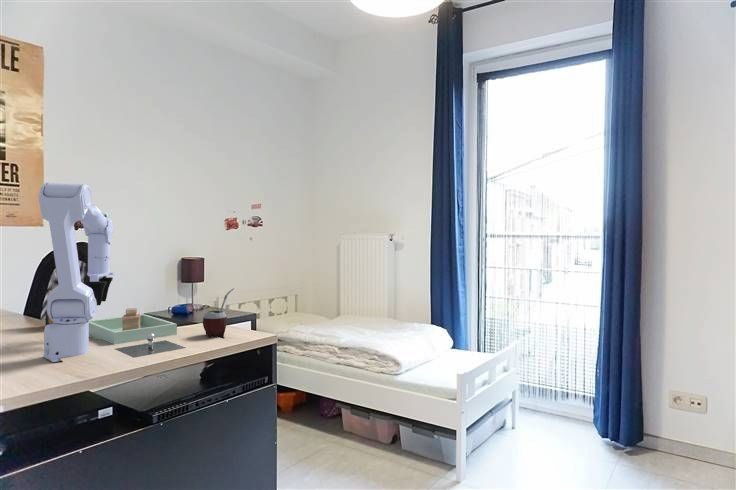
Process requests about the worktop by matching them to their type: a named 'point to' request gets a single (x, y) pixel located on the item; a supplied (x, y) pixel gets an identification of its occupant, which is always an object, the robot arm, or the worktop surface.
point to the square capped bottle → (131, 319)
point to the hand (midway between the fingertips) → (99, 303)
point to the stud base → (149, 347)
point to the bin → (147, 325)
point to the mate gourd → (215, 321)
